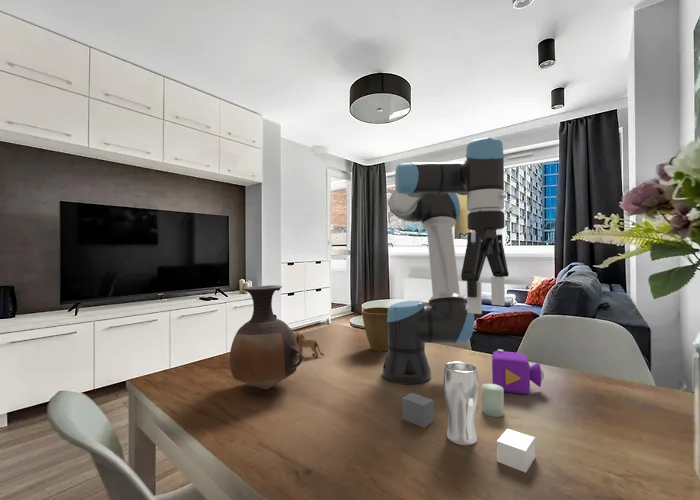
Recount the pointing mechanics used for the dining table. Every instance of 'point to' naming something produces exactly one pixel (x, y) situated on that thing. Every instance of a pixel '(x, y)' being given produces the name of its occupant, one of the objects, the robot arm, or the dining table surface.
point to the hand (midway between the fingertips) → (487, 308)
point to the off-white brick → (516, 450)
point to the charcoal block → (417, 410)
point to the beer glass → (461, 401)
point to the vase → (264, 344)
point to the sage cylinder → (492, 400)
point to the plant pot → (376, 327)
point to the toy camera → (514, 372)
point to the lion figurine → (306, 343)
